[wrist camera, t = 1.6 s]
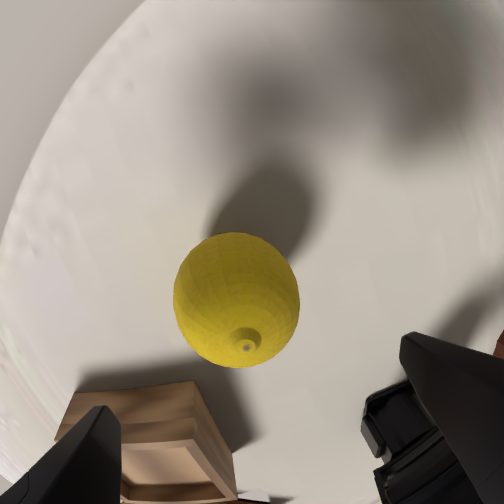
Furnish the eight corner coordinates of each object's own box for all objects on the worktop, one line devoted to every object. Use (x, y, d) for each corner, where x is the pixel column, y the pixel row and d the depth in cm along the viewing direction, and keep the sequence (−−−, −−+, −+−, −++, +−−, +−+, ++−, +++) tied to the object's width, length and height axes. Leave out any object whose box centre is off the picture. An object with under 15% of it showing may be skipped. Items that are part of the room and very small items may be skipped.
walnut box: (194, 377, 19) (193, 438, 14) (231, 451, 23) (238, 499, 17) (75, 390, 19) (54, 440, 13) (131, 459, 22) (125, 502, 17)
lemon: (250, 319, 18) (275, 415, 10) (167, 286, 16) (141, 376, 9) (293, 243, 17) (355, 308, 9) (206, 200, 15) (201, 239, 8)
